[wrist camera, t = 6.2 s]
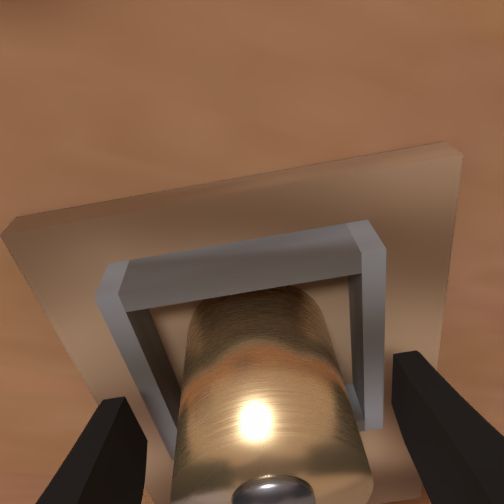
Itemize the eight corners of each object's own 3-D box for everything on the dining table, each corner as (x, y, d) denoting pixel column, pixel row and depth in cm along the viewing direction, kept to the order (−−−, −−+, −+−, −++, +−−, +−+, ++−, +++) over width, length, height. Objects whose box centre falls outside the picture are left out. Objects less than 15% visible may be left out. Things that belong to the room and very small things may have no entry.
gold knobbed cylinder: (328, 370, 14) (376, 541, 10) (204, 389, 14) (196, 566, 10) (320, 268, 12) (378, 433, 7) (171, 292, 12) (141, 468, 8)
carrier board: (412, 476, 20) (434, 533, 18) (174, 511, 21) (169, 570, 19) (445, 141, 11) (496, 177, 9) (16, 217, 12) (-31, 268, 9)
